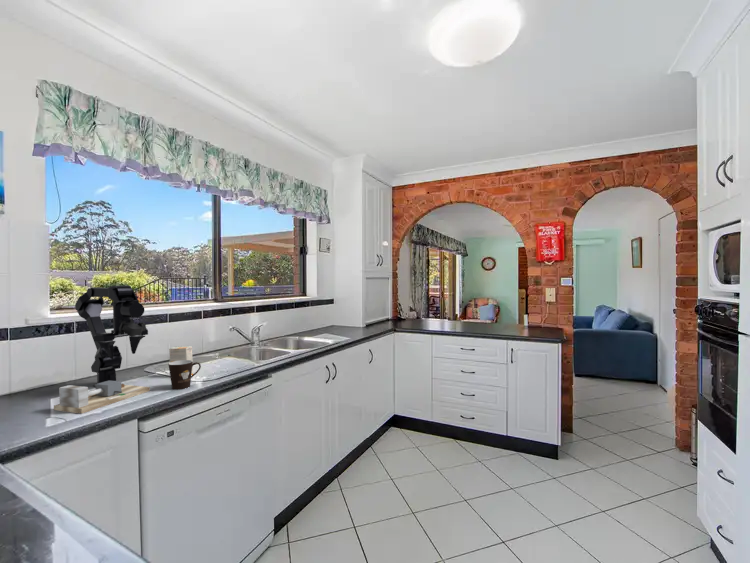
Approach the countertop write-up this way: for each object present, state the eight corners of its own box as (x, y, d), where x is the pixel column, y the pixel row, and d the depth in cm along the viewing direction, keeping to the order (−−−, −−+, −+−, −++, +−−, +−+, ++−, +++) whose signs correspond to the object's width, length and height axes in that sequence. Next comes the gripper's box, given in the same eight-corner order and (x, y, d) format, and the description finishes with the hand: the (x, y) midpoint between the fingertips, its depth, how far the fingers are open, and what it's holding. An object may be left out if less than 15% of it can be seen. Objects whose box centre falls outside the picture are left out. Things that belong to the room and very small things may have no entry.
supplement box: (193, 374, 167) (192, 346, 167) (187, 377, 163) (186, 348, 163) (176, 374, 168) (175, 346, 168) (169, 377, 163) (168, 348, 163)
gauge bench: (53, 410, 124) (53, 387, 124) (124, 388, 148) (124, 369, 148) (81, 413, 120) (81, 390, 120) (149, 390, 144) (149, 371, 144)
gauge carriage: (78, 400, 128) (77, 388, 128) (109, 391, 138) (109, 380, 138) (97, 402, 125) (97, 390, 125) (128, 392, 135) (127, 382, 135)
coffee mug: (168, 391, 142) (168, 365, 142) (169, 386, 150) (168, 361, 150) (202, 387, 147) (201, 362, 147) (201, 382, 155) (200, 358, 155)
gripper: (114, 319, 136) (115, 362, 136) (157, 314, 154) (158, 352, 154) (92, 319, 140) (93, 360, 140) (137, 314, 157) (138, 351, 158)
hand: (123, 355), depth 148 cm, fingers open, 9 cm apart
